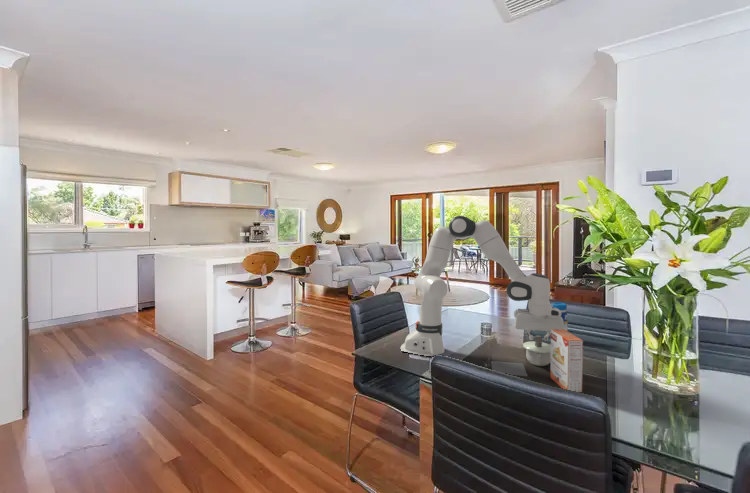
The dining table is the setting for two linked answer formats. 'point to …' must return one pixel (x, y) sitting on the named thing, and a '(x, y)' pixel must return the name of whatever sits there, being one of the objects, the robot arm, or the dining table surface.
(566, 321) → the beverage bottle
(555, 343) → the cracker box
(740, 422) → the dining table surface
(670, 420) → the dining table surface
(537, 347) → the lid
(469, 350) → the dining table surface
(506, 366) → the mat
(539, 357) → the teacup
